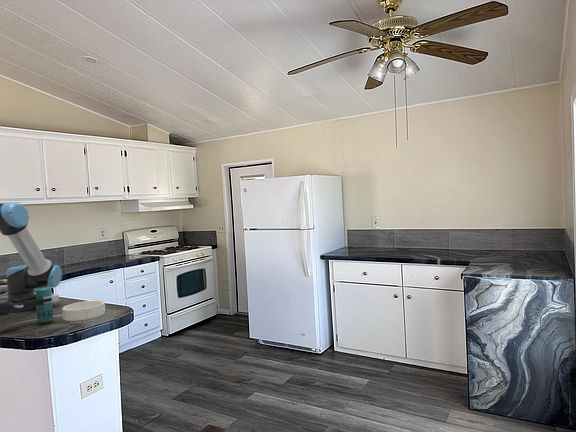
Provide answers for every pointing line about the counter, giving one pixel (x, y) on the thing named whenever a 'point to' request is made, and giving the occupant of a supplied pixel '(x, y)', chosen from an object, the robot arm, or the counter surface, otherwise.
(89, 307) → the bowl
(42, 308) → the beverage bottle
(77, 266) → the counter surface
